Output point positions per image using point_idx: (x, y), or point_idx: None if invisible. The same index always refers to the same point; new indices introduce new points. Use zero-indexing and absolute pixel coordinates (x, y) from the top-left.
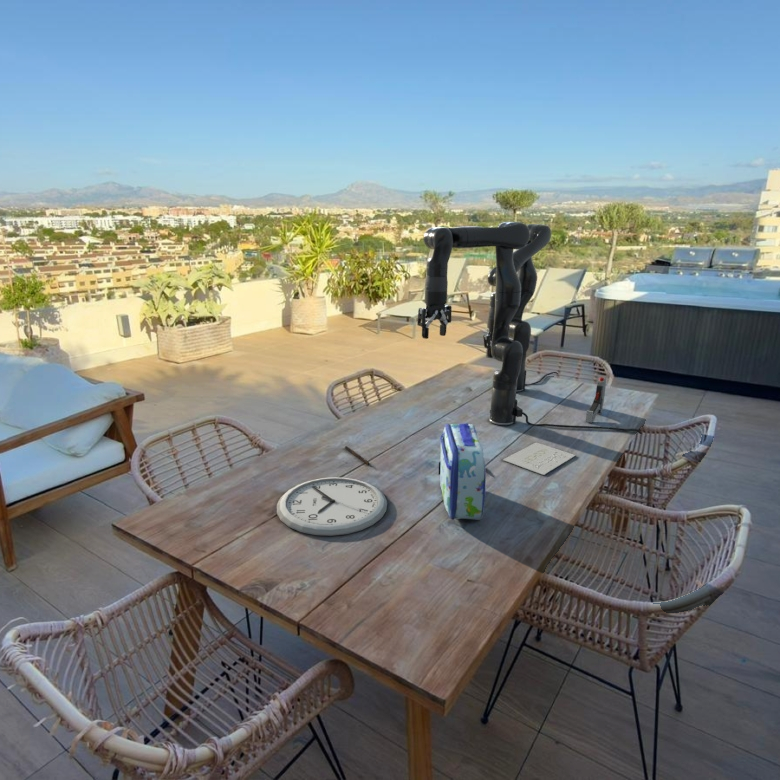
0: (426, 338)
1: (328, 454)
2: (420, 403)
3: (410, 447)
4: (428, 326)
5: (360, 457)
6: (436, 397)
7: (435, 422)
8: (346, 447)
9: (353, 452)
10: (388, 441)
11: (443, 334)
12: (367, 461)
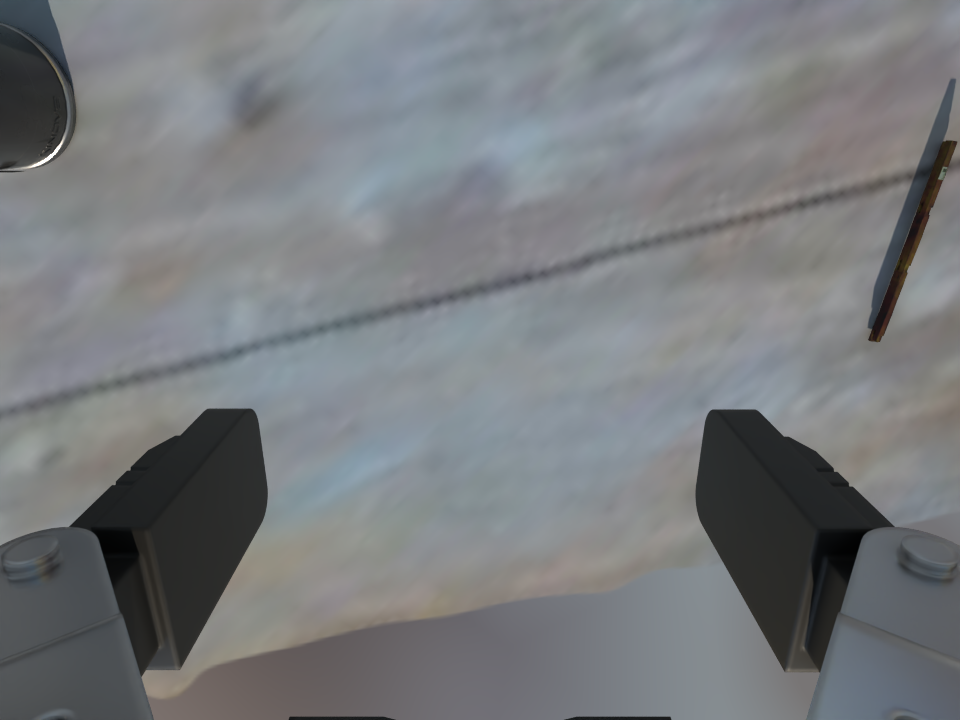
0: (750, 414)
1: (956, 339)
2: None
3: (655, 166)
4: (874, 550)
5: (930, 208)
6: None
7: (330, 318)
8: (883, 330)
9: (906, 270)
10: (675, 286)
11: (248, 429)
12: (952, 148)
